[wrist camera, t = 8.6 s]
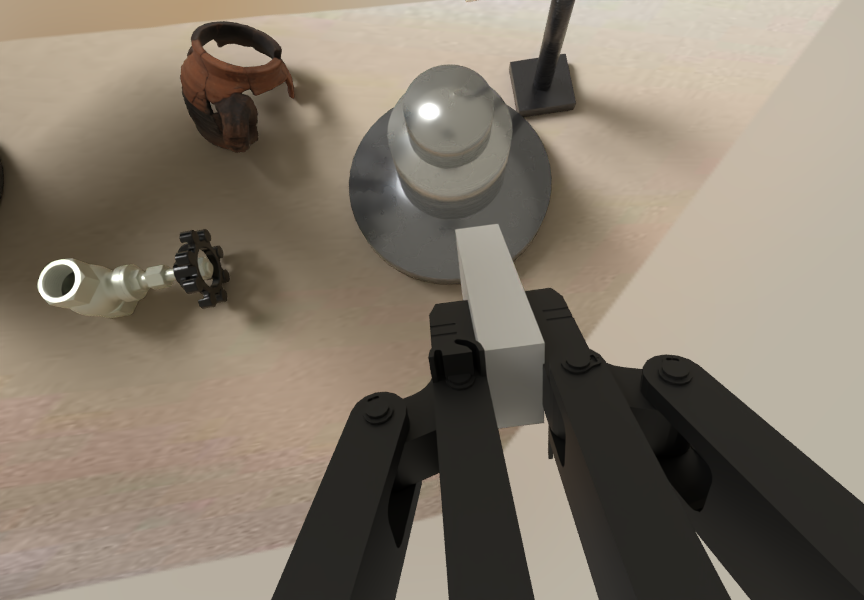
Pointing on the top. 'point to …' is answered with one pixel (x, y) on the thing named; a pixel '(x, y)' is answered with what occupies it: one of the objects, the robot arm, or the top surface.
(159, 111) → the top surface
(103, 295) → the valve
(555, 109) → the dial stand
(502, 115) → the cover
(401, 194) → the grey metal flat disc
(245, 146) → the brown irregular ringed piece
